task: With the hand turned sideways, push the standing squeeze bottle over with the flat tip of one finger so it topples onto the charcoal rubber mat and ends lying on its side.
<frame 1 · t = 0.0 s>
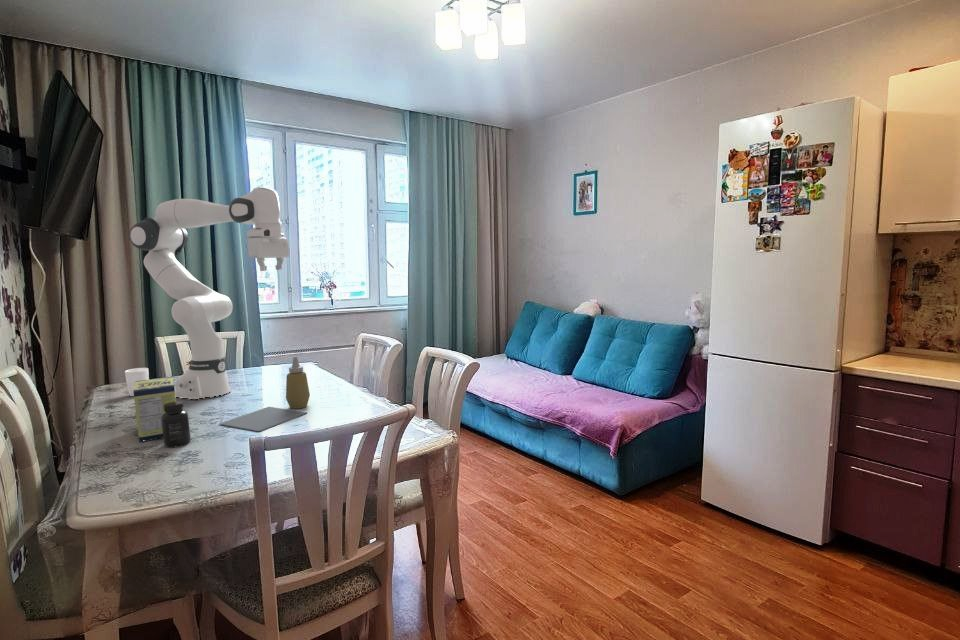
hand: (271, 270, 194), 48 cm above the table, tool pointing down, fingers open, 8 cm apart
squeeze bottle: (298, 407, 186), on the table
supplement bottle: (177, 444, 152), on the table
protein box: (159, 432, 163), on the table
white cup: (139, 395, 208), on the table
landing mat: (264, 419, 173), on the table
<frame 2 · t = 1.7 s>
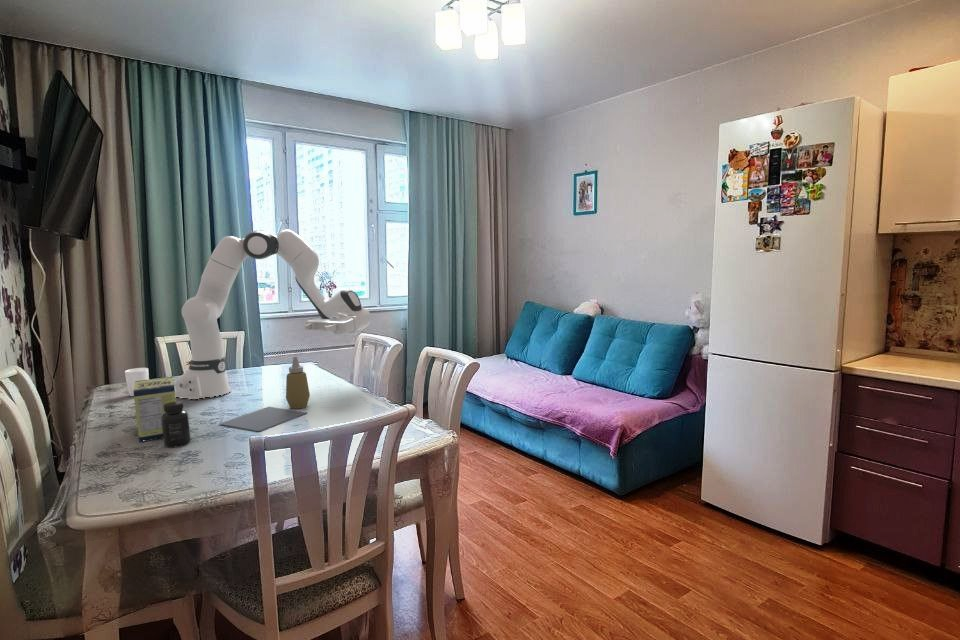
hand: (315, 328, 198), 26 cm above the table, tool horizontal, fingers open, 8 cm apart
nothing on the table moved.
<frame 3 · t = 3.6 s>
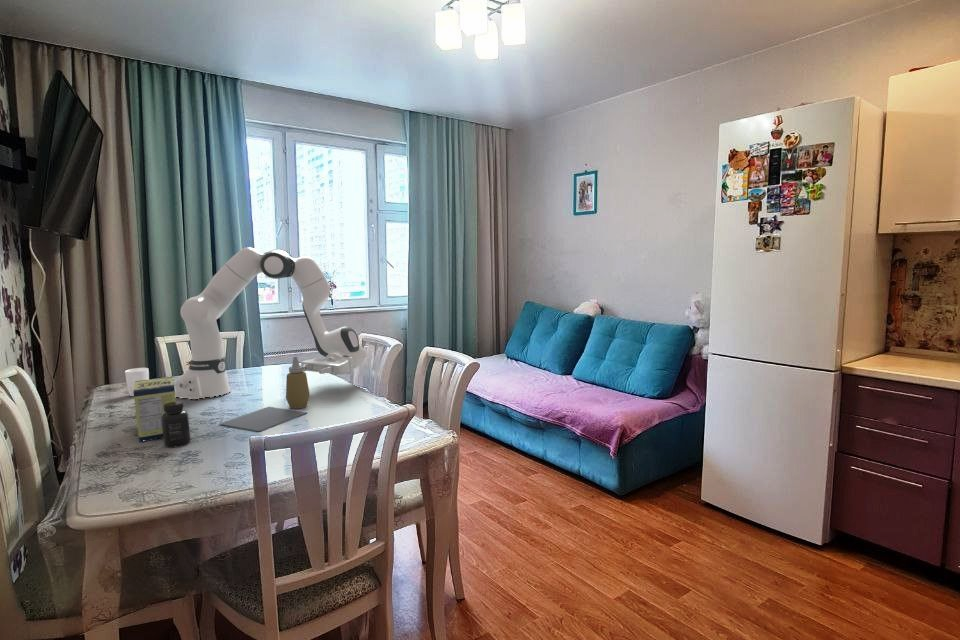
hand: (310, 370, 197), 10 cm above the table, tool horizontal, fingers open, 8 cm apart
nothing on the table moved.
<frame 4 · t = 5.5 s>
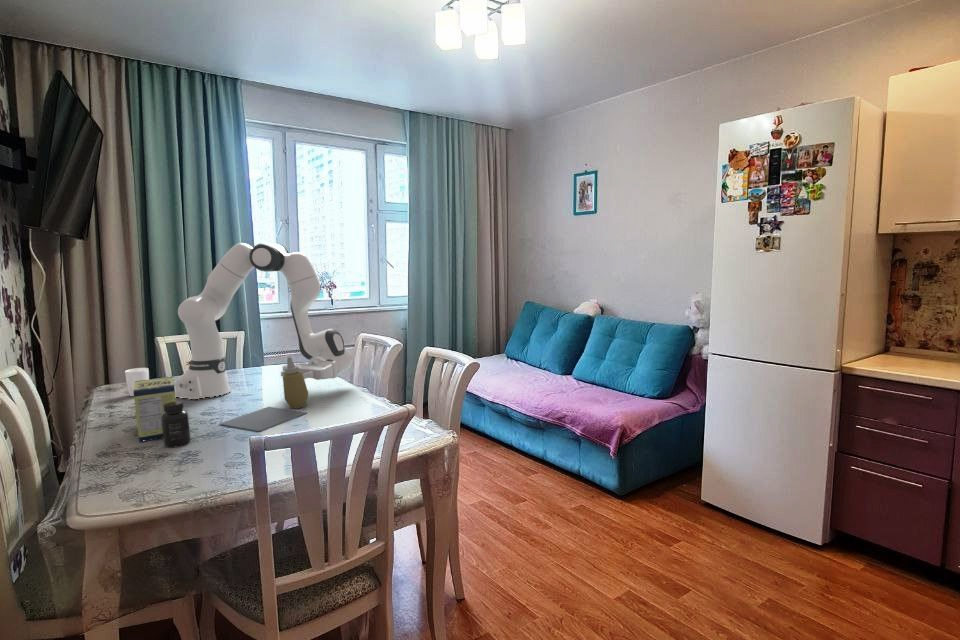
hand: (291, 375, 189), 11 cm above the table, tool horizontal, fingers open, 8 cm apart
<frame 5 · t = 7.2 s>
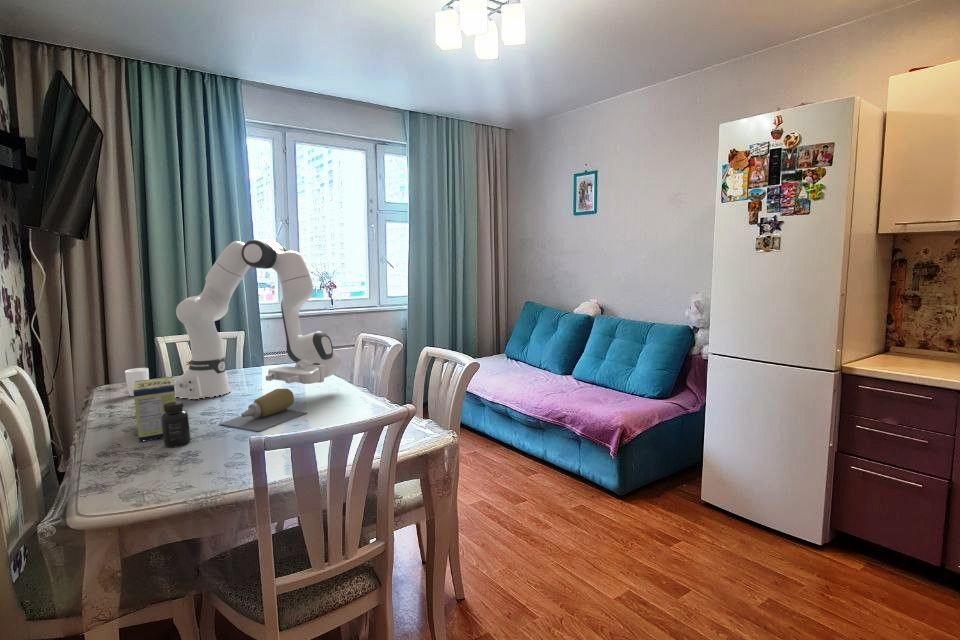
hand: (276, 379, 182), 11 cm above the table, tool horizontal, fingers open, 8 cm apart
squeeze bottle: (289, 396, 183), point 5 cm above the table, touching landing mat
everything else where it was.
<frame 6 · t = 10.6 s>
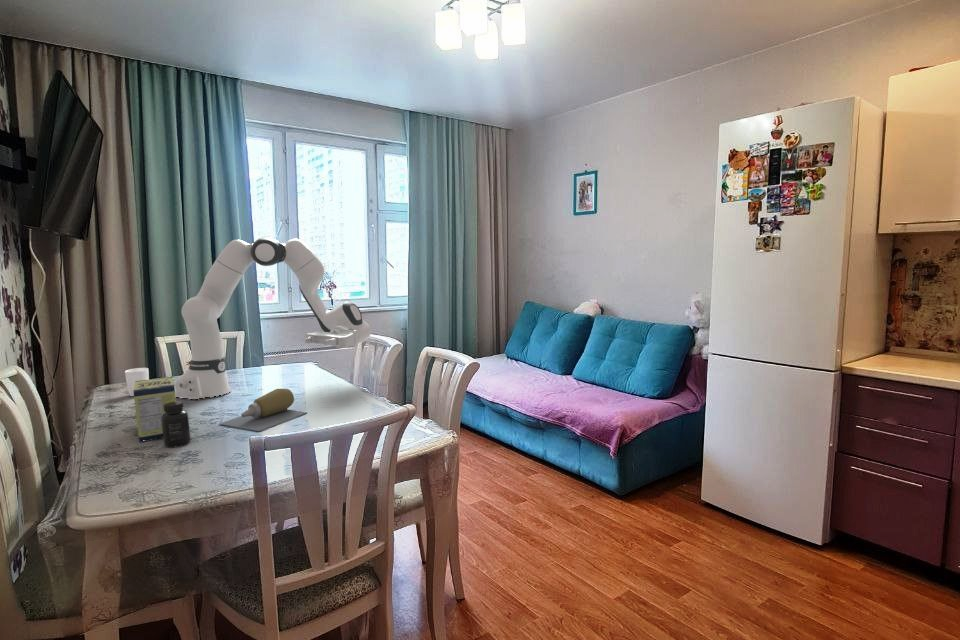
hand: (315, 341, 199), 21 cm above the table, tool horizontal, fingers open, 8 cm apart
nothing on the table moved.
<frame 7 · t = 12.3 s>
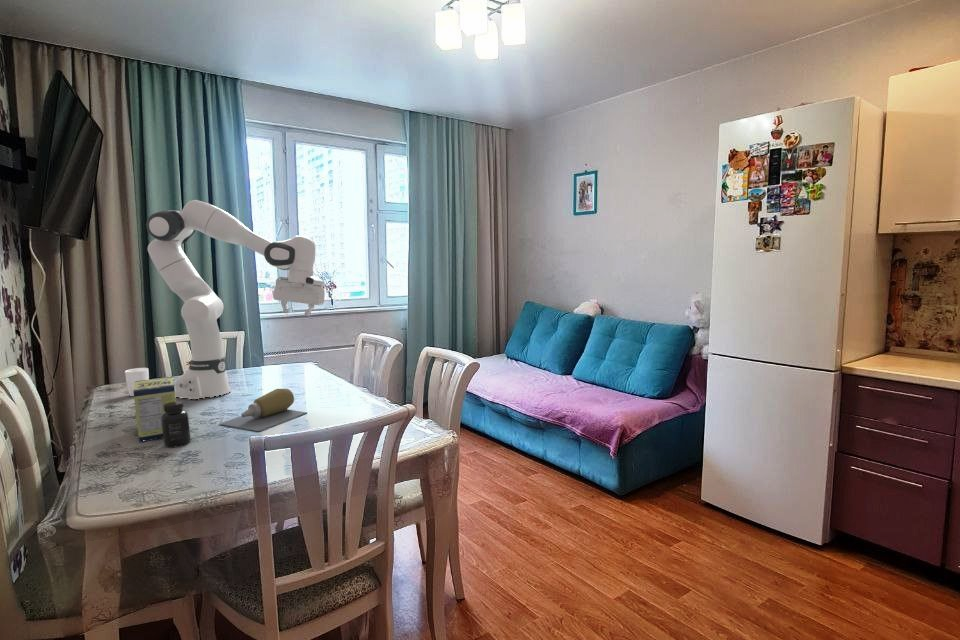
hand: (296, 314, 202), 31 cm above the table, tool pointing down, fingers open, 8 cm apart
nothing on the table moved.
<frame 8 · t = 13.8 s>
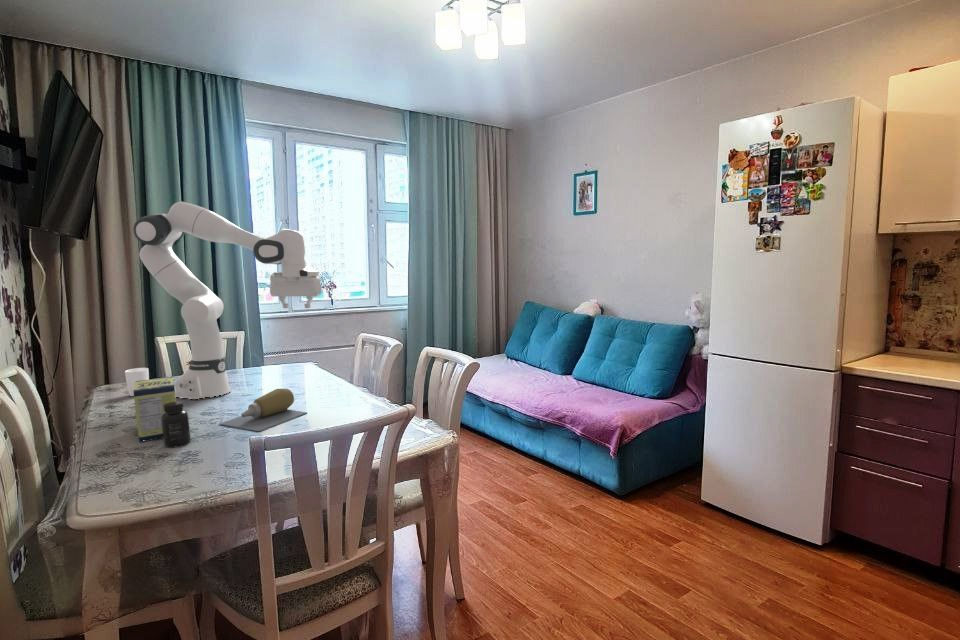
hand: (296, 308, 203), 33 cm above the table, tool pointing down, fingers open, 8 cm apart
nothing on the table moved.
at the end: squeeze bottle tilted 95°; squeeze bottle touching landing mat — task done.
